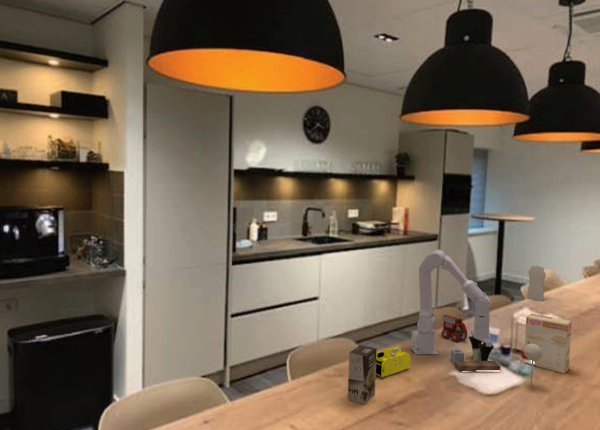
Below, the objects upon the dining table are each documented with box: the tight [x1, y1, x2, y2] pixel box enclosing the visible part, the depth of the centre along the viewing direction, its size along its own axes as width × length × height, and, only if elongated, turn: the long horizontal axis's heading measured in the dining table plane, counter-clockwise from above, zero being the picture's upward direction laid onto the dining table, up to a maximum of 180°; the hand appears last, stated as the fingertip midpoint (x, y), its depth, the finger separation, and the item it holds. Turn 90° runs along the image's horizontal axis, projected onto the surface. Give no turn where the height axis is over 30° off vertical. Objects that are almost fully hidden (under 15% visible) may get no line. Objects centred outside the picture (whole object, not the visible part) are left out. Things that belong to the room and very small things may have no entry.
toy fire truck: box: [440, 314, 468, 343], centre depth 214 cm, size 7×12×10 cm, turn 38°
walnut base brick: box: [454, 360, 501, 373], centre depth 179 cm, size 16×5×2 cm, turn 93°
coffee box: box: [347, 344, 378, 405], centre depth 153 cm, size 9×6×16 cm
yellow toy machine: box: [376, 345, 412, 378], centre depth 174 cm, size 16×6×8 cm, turn 127°
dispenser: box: [527, 265, 547, 302], centre depth 293 cm, size 11×4×22 cm, turn 38°
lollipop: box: [523, 344, 542, 385], centre depth 166 cm, size 6×6×15 cm
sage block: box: [472, 348, 481, 361], centre depth 187 cm, size 4×4×5 cm
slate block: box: [449, 348, 465, 365], centre depth 186 cm, size 4×4×5 cm
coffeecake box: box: [523, 313, 572, 374], centre depth 183 cm, size 15×7×20 cm, turn 47°
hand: (480, 357), depth 187 cm, fingers open, 7 cm apart
